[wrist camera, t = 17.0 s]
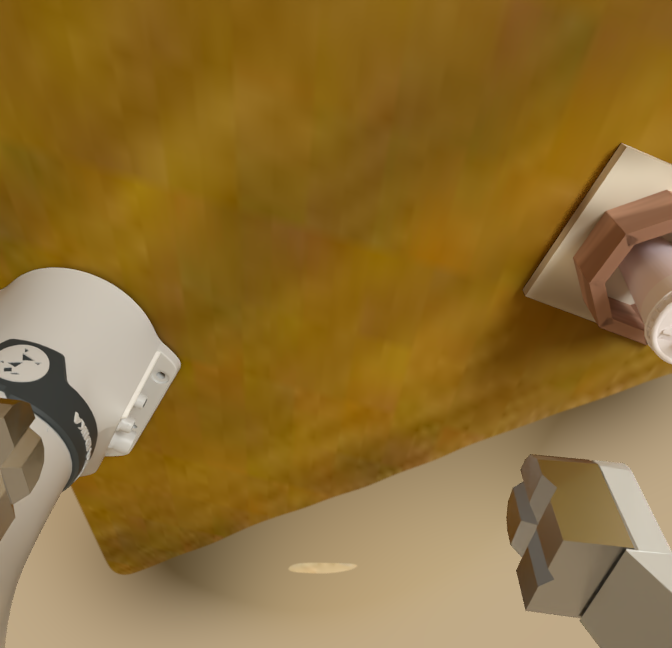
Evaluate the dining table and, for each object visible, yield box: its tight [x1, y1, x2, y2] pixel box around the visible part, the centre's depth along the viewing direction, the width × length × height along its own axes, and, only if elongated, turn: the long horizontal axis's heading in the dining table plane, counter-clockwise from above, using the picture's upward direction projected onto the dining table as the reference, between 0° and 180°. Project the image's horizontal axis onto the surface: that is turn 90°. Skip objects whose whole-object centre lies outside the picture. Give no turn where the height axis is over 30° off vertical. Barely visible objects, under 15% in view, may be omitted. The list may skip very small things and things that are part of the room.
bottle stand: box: [523, 143, 672, 345], centre depth 41 cm, size 13×13×5 cm
